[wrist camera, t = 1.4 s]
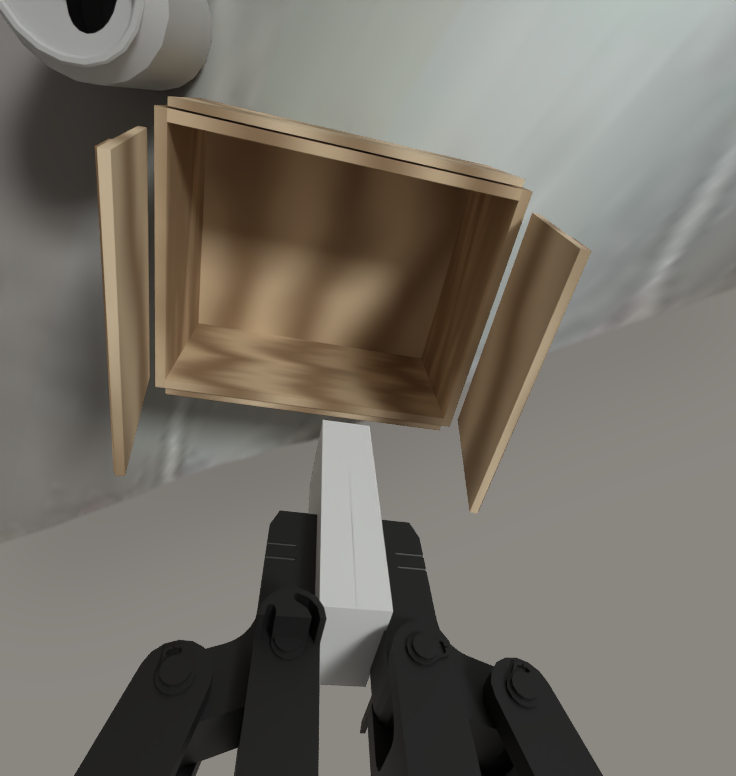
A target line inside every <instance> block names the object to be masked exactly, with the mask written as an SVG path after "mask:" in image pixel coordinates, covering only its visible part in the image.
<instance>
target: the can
mask: <svg viewBox="0 0 736 776" xmlns="http://www.w3.org/2000/svg"><path fill="white" fill-rule="evenodd" d="M0 12H1V14H2V16H3V17H4V19H5V20H6V22H7V23H8V24H9V26H10V27H11V28H12V30H13V31H14V32H15V34H16V35H17V37H18V38H19V39H20V41H21V42H22V43H23V45H24V46H25V47H26V48H28V49H29V50H30V51H31V52H32V53H33V54H34V55H36V56H37V57H38V58H39V59H40V60H41V61H42V62H44V63H45V64H46V65H47V66H48V67H49V68H51V69H53V70H55V71H57V72H59V73H61V74H63V75H65V76H67V77H69V78H71V79H73V80H75V81H79V82H85V83H91V84H97V85H103V86H113V87H124V88H135V89H146V90H157V91H164V90H169V89H174V88H179V87H181V86H183V85H184V84H186V83H187V82H189V81H190V80H192V79H193V78H195V76H196V75H197V74H198V72H199V71H200V69H201V68H202V66H203V65H204V64H205V62H206V59H207V56H208V52H209V49H210V45H211V42H212V17H211V14H210V10H209V6H208V2H207V0H0Z"/></svg>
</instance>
